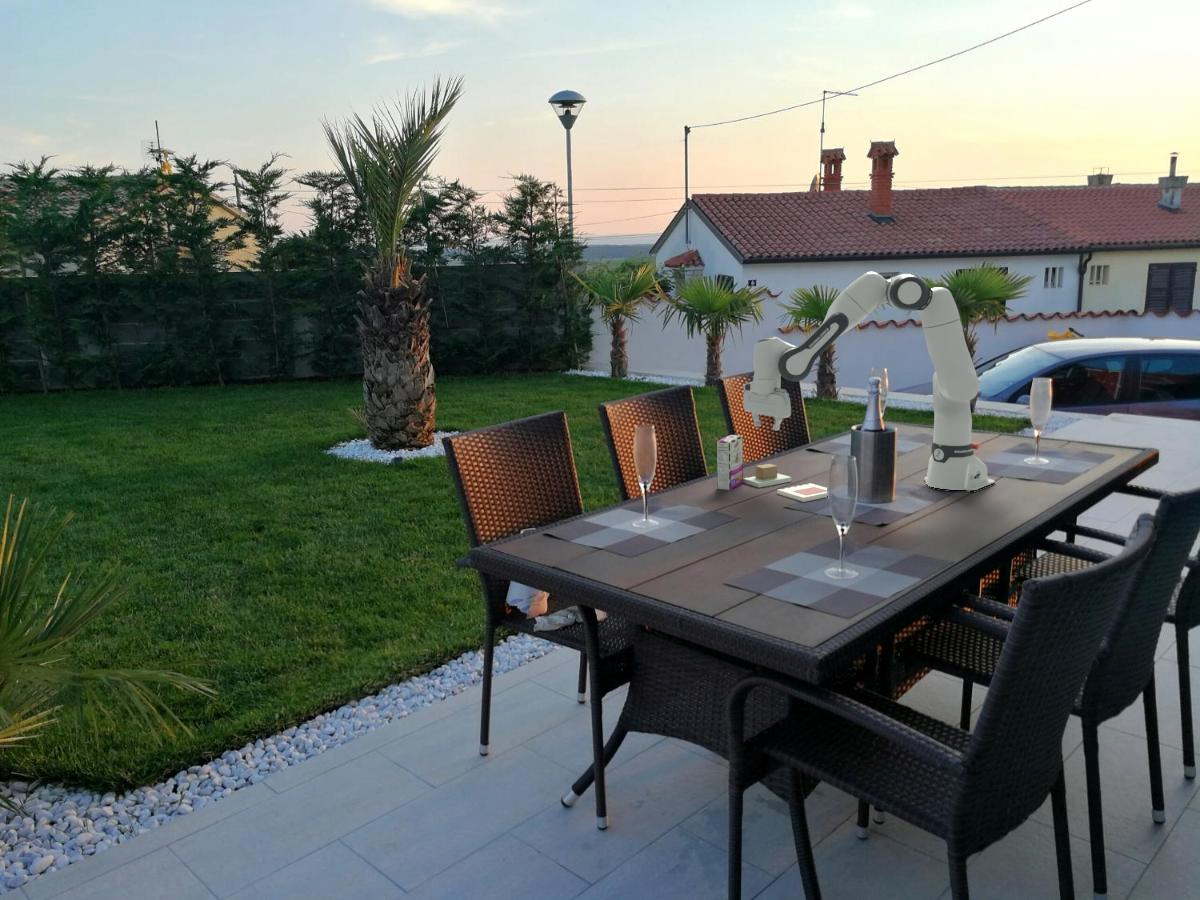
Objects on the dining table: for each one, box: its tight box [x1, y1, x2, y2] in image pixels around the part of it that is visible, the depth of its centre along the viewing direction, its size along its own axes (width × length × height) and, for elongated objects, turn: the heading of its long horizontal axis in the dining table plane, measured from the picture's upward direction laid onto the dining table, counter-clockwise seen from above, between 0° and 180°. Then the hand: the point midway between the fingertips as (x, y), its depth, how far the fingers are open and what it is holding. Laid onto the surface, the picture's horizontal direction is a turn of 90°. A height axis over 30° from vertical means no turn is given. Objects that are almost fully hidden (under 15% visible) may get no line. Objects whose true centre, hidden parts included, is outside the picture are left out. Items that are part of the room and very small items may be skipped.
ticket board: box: [776, 482, 828, 503], centre depth 265 cm, size 14×12×2 cm
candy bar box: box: [716, 434, 744, 491], centre depth 276 cm, size 11×5×16 cm, turn 148°
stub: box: [742, 463, 792, 488], centre depth 281 cm, size 14×8×6 cm, turn 119°
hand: (766, 428), depth 278 cm, fingers open, 8 cm apart
